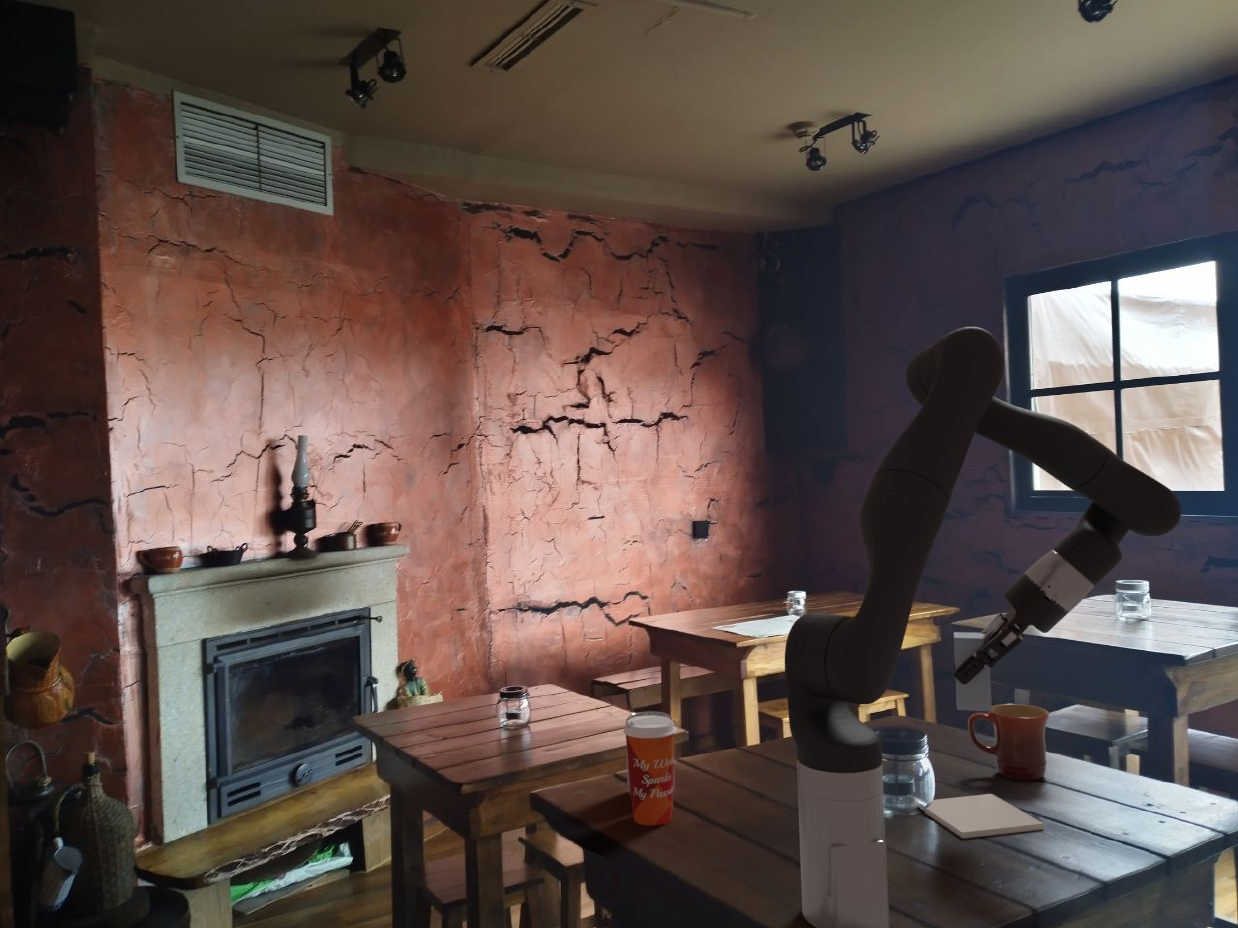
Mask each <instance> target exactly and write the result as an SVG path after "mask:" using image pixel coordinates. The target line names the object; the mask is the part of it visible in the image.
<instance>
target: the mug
mask: <svg viewBox="0 0 1238 928" xmlns="http://www.w3.org/2000/svg"><path fill="white" fill-rule="evenodd" d="M1049 716H1050V713H1049V711H1048V710H1046V709H1045V708H1042V707H1038V706H1035V705H1029V704H1022V703H1021V704H1018V703H1003V704H1002V703H1001V704H995V705H992V711H988V712H975V713H973V714H972V715H970V716H969V717H968V721H967V728H968V734H969V737H970V739H971V742H972V744H974V746H975V747H976V748H977V749H979V751H980V750H981V751H982V752H984V753H987V754H989V755H993V756H994V760H995V766H996V771H997V772H998V774H1000V775H1001V776H1002V777H1004V778H1007V779H1010V780H1013V781H1018V782H1034V781H1035V782H1036V781H1039V780H1040V779H1042V778H1043V777H1044V776H1045V774H1046V770H1047V753H1046V750H1047V749H1046V740H1045V739H1046V738H1045V732H1046V727H1047V722H1048V719H1049ZM979 719H980V720H986V721H988V722H989V723H991V724H992V725H993V728H994V743H993V744H992V745H991V744H990V745H989V744H988V745H987V744H984V743H982V742H981V741H979V739H978V738H977V735H976V732H975V727H974V726H975V721H976V720H979Z"/></svg>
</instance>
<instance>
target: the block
mask: <svg viewBox="0 0 1238 928" xmlns="http://www.w3.org/2000/svg"><path fill="white" fill-rule="evenodd" d="M984 635H985V634H982V633H981V632H963V631H962V632H960V631H958V632H957V631H954V632H953V643H954V644H953V645H954V649H953V650H954V663H955V669H954V671H955V670H956V669H957V668H958V667H959V666H960V665H962V664H963V663H964V662H965V661H966V660H967V659H968V658H969V657H970V656H971V655H972V654H973V651H975V650H976V649H977V648H978V647H979V646H981V645H982V638H983V636H984ZM985 652H986V653H988V654H989V655H990V656H991V654H990V652H989V649H988V650H987V651H985ZM991 677H992V676H991V667H990V668H989V667H987V668H985V667H984V668H983V669H982V670H981V671H980V672H979V673H978V674H977V675H976V676H975V677H974V678H973V679H972V680H971V681H969V682H968V683H967V684H965V685H964V684H962V683H961V682H960V681H959V680H958V679H957V678H955V693H956V694H955V696H956V710H957V711H958V710H959V711H972V712H973V711H974V712H975V711H976V712H989V711H992V706H993V705H992V704H993V703H992V702H993V701H992V682H991V680H992V679H991Z"/></svg>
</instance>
